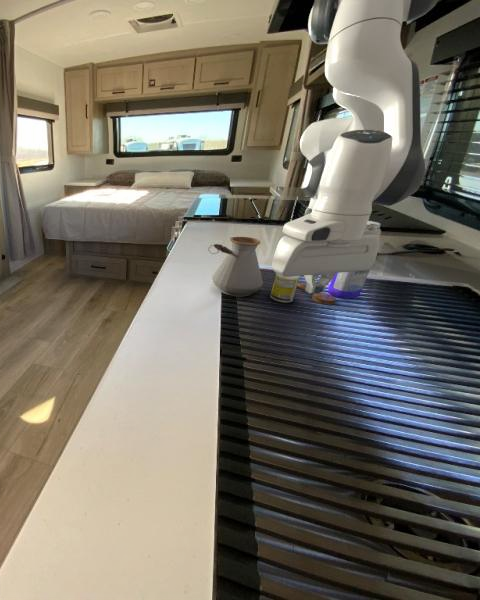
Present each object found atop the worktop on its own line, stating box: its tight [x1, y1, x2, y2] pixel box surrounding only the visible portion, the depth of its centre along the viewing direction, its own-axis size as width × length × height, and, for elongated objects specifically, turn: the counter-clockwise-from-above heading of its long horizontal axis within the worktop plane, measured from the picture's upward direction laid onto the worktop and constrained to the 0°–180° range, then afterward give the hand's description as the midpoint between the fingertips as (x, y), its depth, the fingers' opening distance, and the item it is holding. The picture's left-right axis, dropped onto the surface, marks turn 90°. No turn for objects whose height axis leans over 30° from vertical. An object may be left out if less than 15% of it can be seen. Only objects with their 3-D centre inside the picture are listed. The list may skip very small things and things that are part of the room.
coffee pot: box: [208, 236, 264, 298], centre depth 76 cm, size 21×12×15 cm, turn 132°
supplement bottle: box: [270, 272, 301, 303], centre depth 76 cm, size 5×5×8 cm
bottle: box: [327, 220, 382, 300], centre depth 76 cm, size 7×6×17 cm
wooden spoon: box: [297, 281, 337, 306], centre depth 82 cm, size 17×4×1 cm, turn 8°
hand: (313, 291), depth 69 cm, fingers closed
